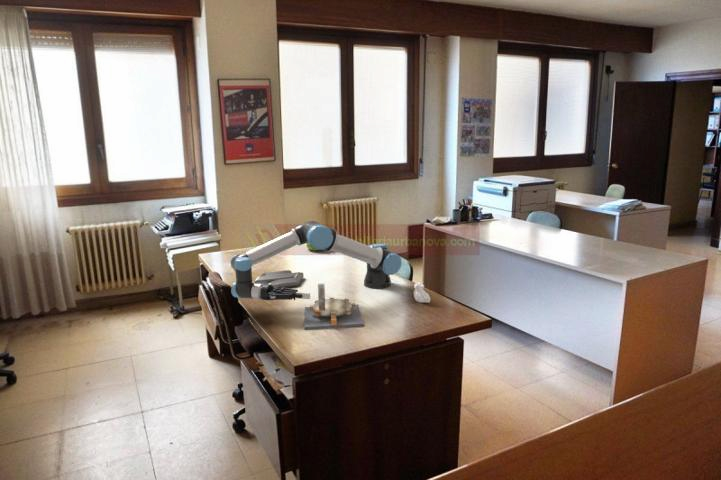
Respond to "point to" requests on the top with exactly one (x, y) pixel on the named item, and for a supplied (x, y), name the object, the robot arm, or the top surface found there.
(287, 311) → the top surface
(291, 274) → the grey flat lobed piece
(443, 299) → the top surface
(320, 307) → the white lobed piece
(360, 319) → the sprocket stand
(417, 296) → the duck figurine
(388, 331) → the top surface
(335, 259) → the top surface
